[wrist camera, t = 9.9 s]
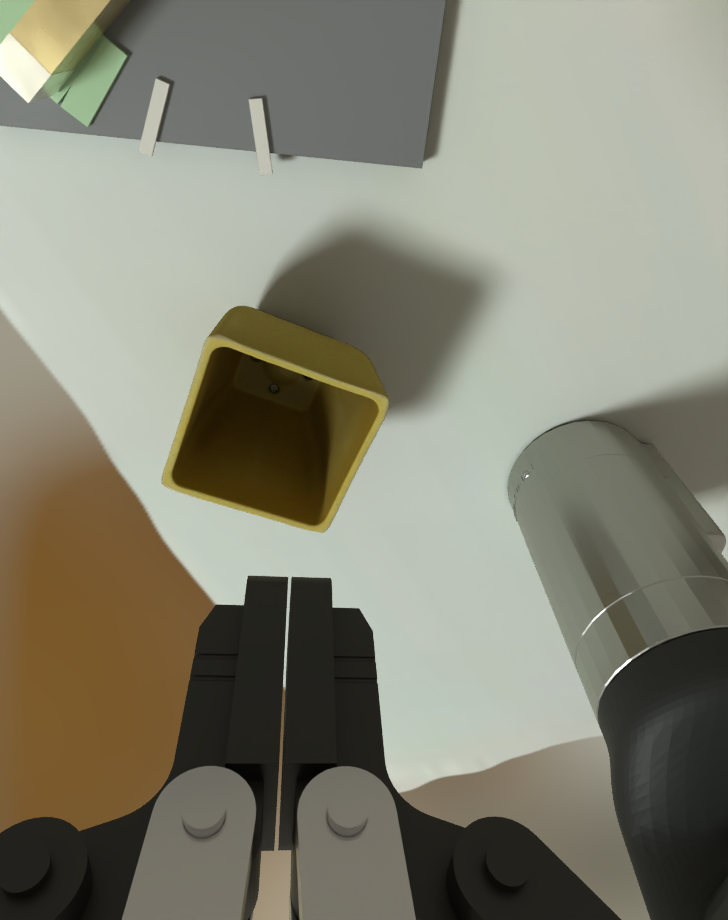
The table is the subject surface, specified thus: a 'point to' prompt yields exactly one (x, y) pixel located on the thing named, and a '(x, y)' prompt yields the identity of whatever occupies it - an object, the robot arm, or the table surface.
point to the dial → (53, 43)
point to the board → (252, 78)
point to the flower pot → (275, 420)
